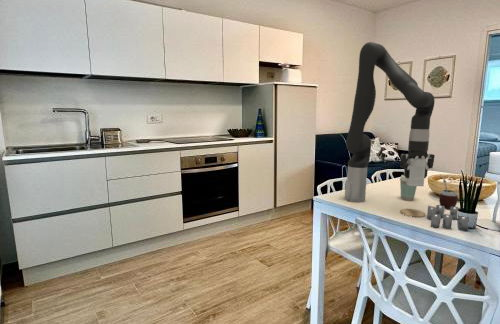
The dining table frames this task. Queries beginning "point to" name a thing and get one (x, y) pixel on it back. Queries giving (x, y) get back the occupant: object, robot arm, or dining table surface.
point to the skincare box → (417, 173)
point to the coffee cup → (407, 190)
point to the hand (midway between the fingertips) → (415, 177)
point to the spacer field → (447, 218)
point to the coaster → (412, 212)
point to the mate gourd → (448, 197)
